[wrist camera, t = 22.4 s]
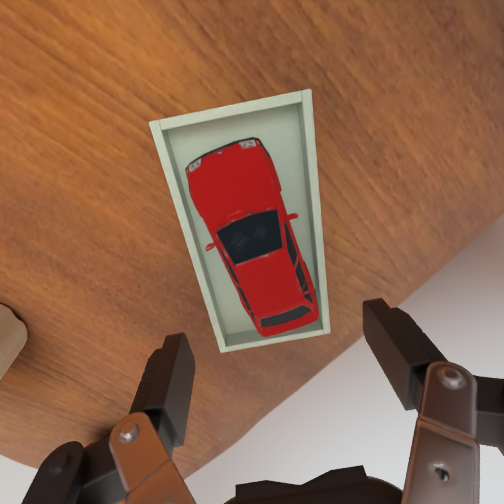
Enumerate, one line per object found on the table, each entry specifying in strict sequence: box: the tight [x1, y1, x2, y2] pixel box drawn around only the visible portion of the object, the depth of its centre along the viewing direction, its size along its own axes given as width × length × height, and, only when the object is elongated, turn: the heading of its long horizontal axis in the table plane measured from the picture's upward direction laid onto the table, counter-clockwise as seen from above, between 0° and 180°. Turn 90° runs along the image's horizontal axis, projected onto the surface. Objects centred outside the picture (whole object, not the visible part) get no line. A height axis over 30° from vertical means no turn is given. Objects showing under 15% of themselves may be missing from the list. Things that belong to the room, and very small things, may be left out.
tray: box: [149, 89, 330, 353], centre depth 22 cm, size 10×19×2 cm, turn 10°
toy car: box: [185, 137, 319, 337], centre depth 20 cm, size 6×14×5 cm, turn 20°
